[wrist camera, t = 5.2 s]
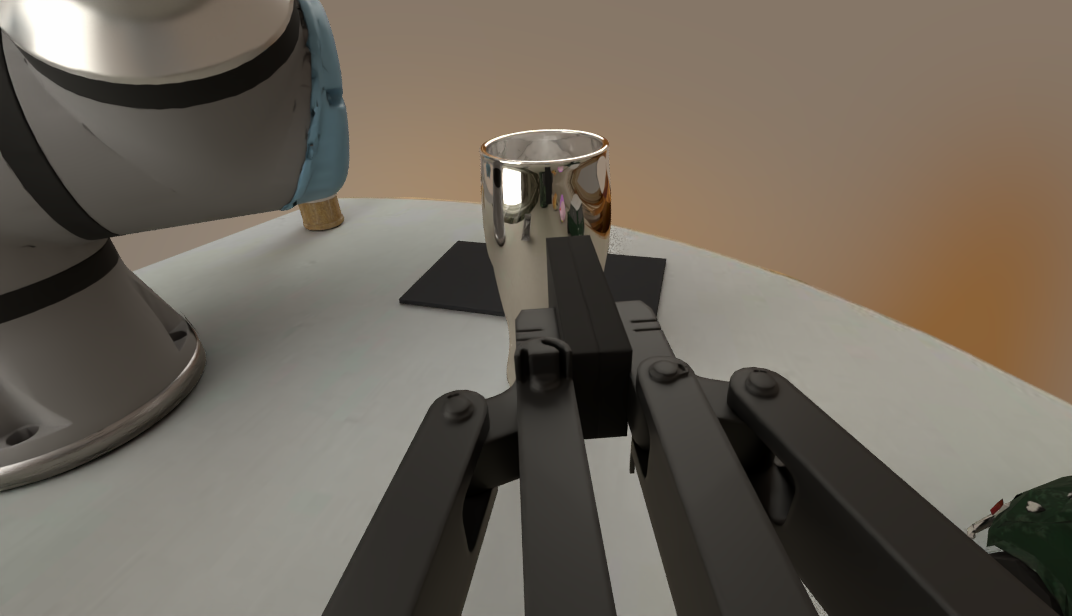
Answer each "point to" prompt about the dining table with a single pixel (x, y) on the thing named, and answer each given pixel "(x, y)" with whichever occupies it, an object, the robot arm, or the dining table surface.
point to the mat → (472, 288)
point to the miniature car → (1036, 540)
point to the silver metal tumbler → (540, 209)
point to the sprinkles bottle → (321, 213)
